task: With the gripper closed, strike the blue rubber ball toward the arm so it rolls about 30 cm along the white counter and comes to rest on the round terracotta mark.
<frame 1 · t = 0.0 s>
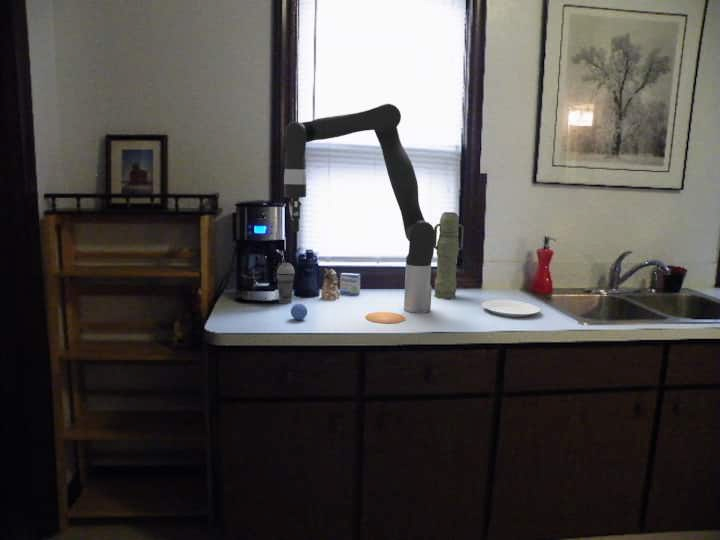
hand: (295, 230, 175), 29 cm above the worktop, tool pointing down, fingers open, 8 cm apart
thermos: (444, 297, 211), on the worktop
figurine: (330, 298, 203), on the worktop
beverage cup: (285, 303, 194), on the worktop
ball: (299, 311, 171), on the worktop
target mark: (385, 317, 176), on the worktop
medicine box: (349, 294, 211), on the worktop
plate: (509, 312, 190), on the worktop
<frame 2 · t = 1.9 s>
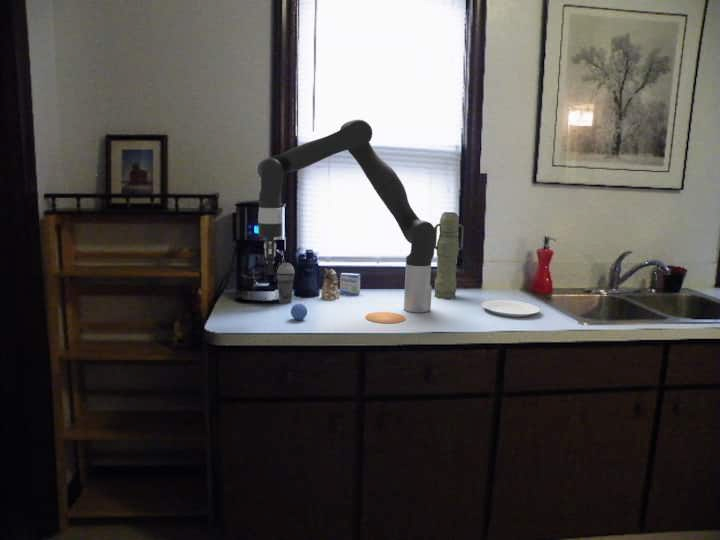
hand: (270, 274, 167), 16 cm above the worktop, tool pointing down, fingers closed
nothing on the worktop moved.
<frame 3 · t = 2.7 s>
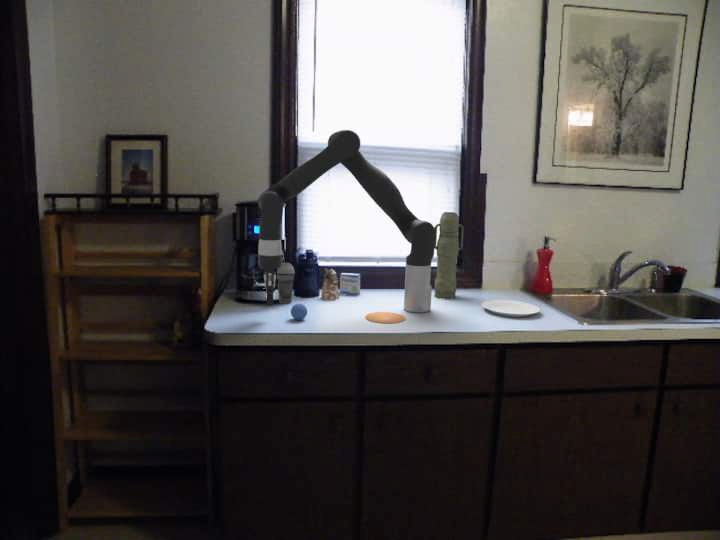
hand: (269, 304, 169), 5 cm above the worktop, tool pointing down, fingers closed
nothing on the worktop moved.
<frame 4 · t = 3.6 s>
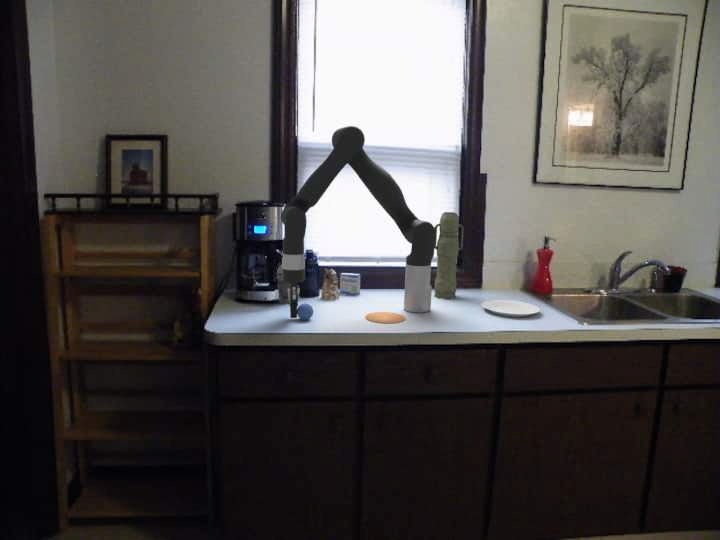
hand: (293, 317, 171), 1 cm above the worktop, tool pointing down, fingers closed
ball: (305, 311, 171), on the worktop
everything else where it was.
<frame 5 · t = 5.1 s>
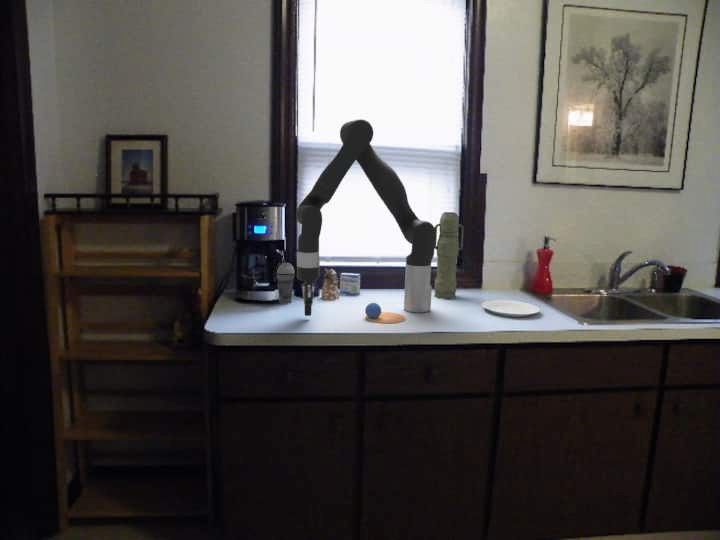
hand: (307, 315, 171), 2 cm above the worktop, tool pointing down, fingers closed
ball: (373, 310, 175), on the worktop
everything else where it was.
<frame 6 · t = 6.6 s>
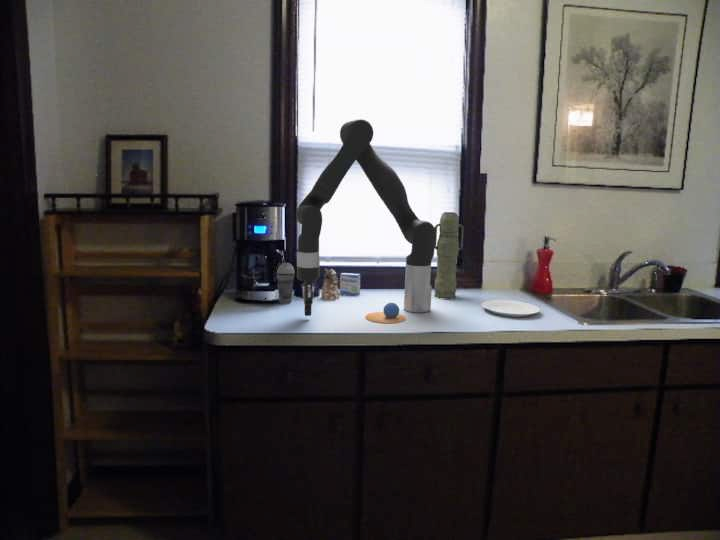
hand: (307, 315, 171), 2 cm above the worktop, tool pointing down, fingers closed
ball: (391, 310, 176), on the worktop
everything else where it was.
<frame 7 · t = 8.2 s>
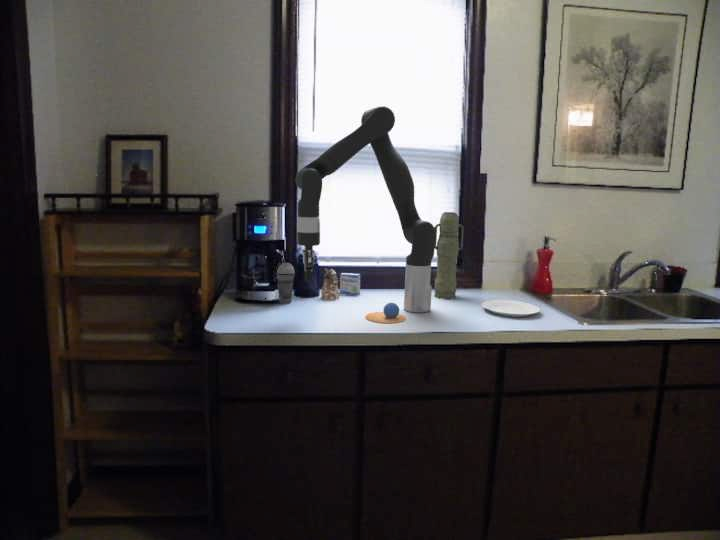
hand: (308, 281, 169), 13 cm above the worktop, tool pointing down, fingers closed
nothing on the worktop moved.
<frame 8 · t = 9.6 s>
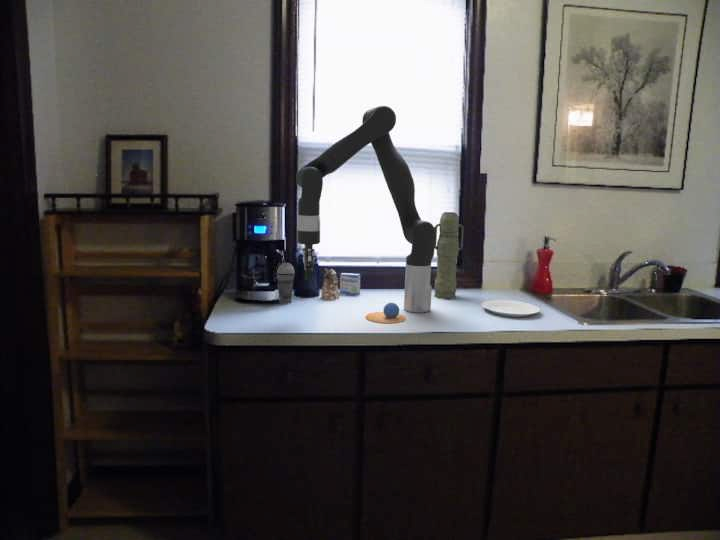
hand: (308, 280, 169), 14 cm above the worktop, tool pointing down, fingers closed
nothing on the worktop moved.
at the end: ball 2.0 cm from the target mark (horizontally); ball at rest at the end (0.0 cm/s); ball moved 31.9 cm from its start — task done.
